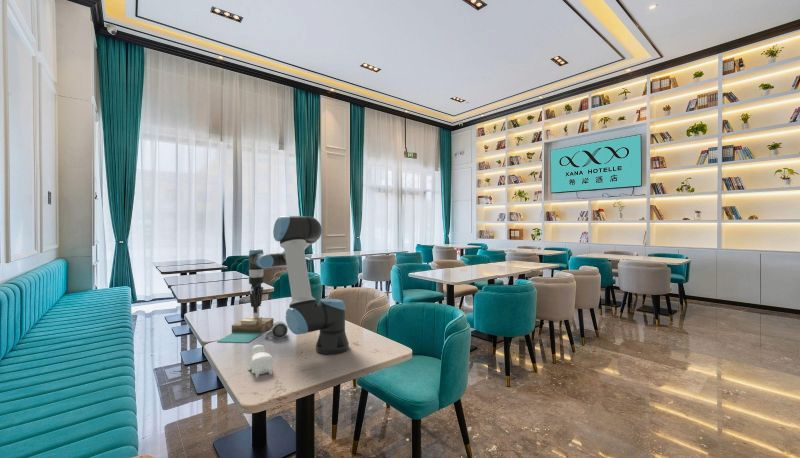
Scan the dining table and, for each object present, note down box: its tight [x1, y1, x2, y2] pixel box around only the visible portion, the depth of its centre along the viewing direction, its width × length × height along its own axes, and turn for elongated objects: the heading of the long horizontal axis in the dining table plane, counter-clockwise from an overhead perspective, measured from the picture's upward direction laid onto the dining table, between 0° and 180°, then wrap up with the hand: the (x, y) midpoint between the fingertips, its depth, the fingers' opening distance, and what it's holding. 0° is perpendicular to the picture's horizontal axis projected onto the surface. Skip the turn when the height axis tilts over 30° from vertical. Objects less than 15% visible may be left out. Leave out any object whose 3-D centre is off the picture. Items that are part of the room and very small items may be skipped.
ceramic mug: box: [265, 320, 289, 340], centre depth 181 cm, size 11×8×8 cm
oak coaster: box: [240, 316, 263, 325], centre depth 192 cm, size 8×8×2 cm
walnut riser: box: [231, 317, 275, 334], centre depth 194 cm, size 16×16×4 cm
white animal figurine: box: [247, 344, 274, 379], centre depth 139 cm, size 9×8×15 cm
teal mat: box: [216, 332, 263, 344], centre depth 179 cm, size 15×16×1 cm
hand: (256, 318), depth 198 cm, fingers closed
